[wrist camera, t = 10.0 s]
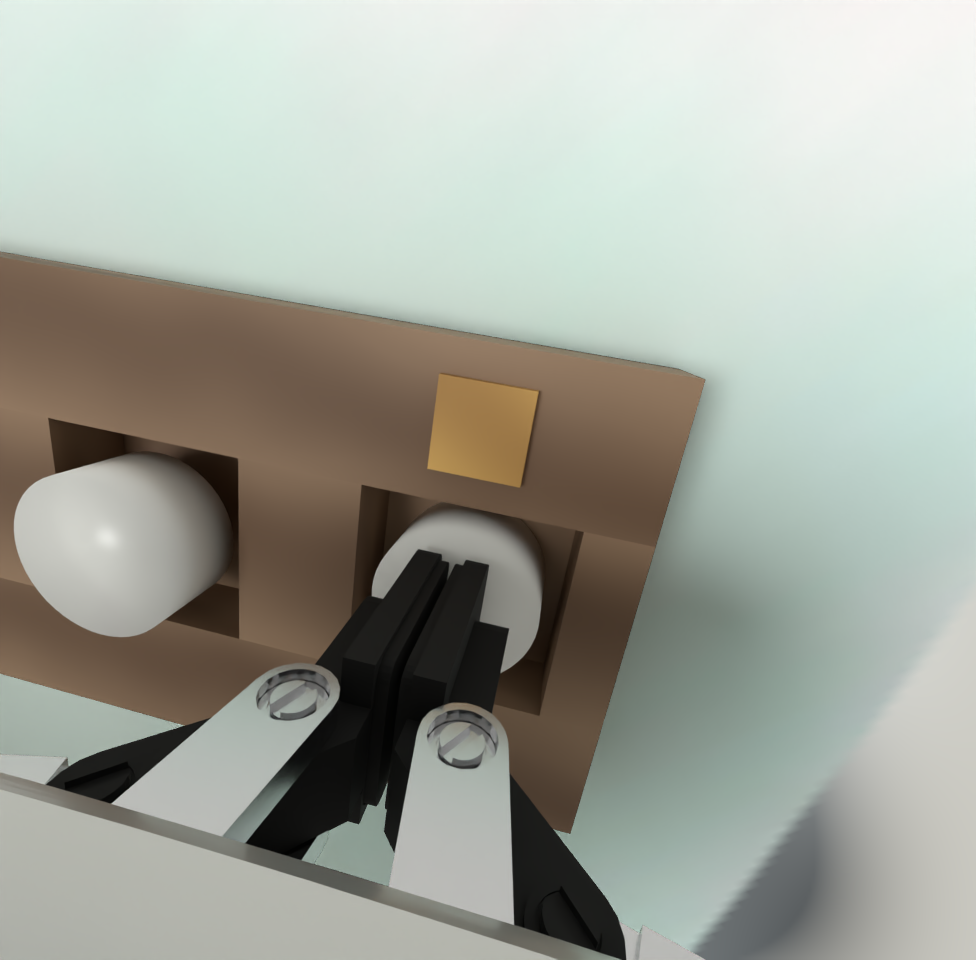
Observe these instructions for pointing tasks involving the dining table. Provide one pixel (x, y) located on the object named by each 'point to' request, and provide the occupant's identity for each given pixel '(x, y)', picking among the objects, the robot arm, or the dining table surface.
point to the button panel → (334, 486)
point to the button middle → (123, 541)
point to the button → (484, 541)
